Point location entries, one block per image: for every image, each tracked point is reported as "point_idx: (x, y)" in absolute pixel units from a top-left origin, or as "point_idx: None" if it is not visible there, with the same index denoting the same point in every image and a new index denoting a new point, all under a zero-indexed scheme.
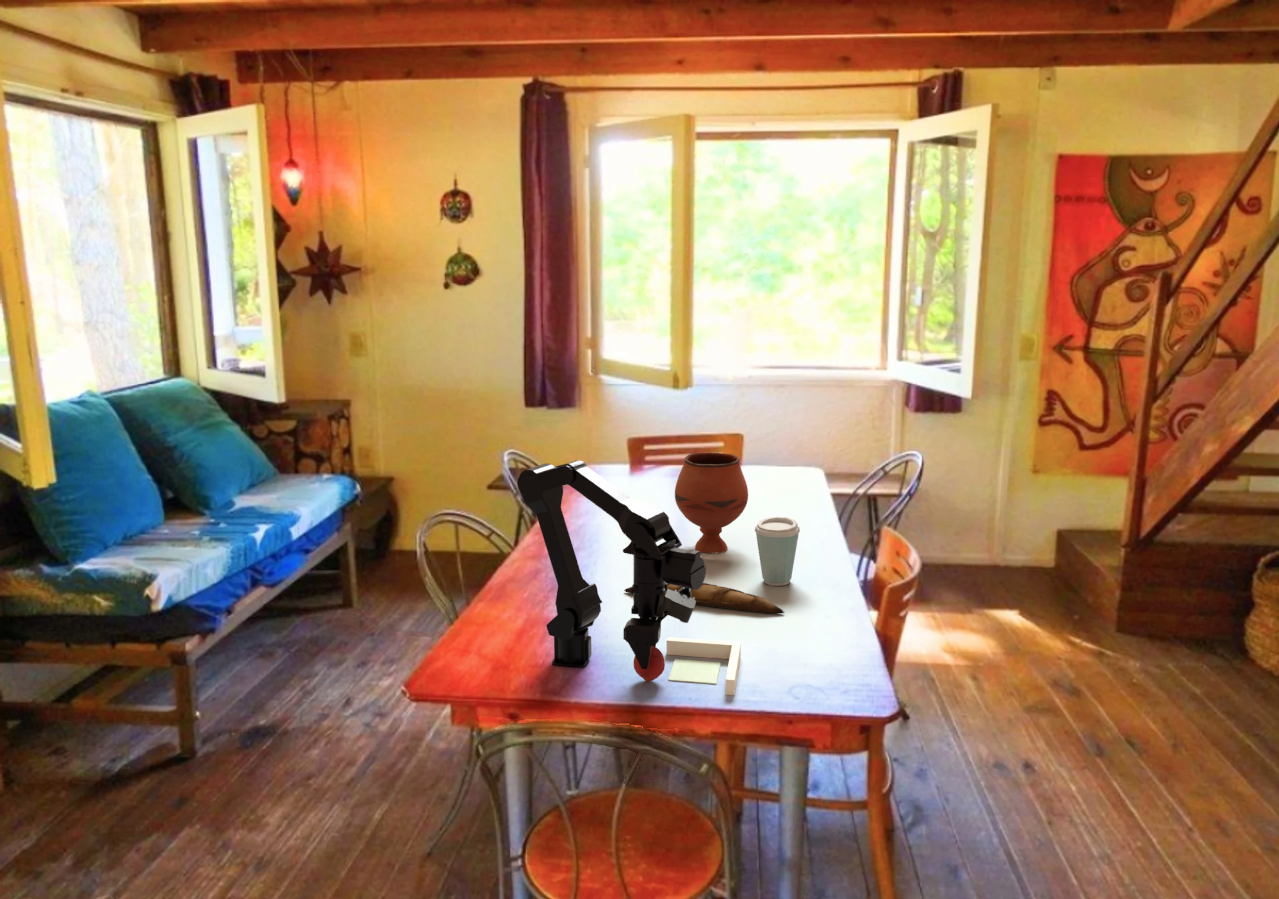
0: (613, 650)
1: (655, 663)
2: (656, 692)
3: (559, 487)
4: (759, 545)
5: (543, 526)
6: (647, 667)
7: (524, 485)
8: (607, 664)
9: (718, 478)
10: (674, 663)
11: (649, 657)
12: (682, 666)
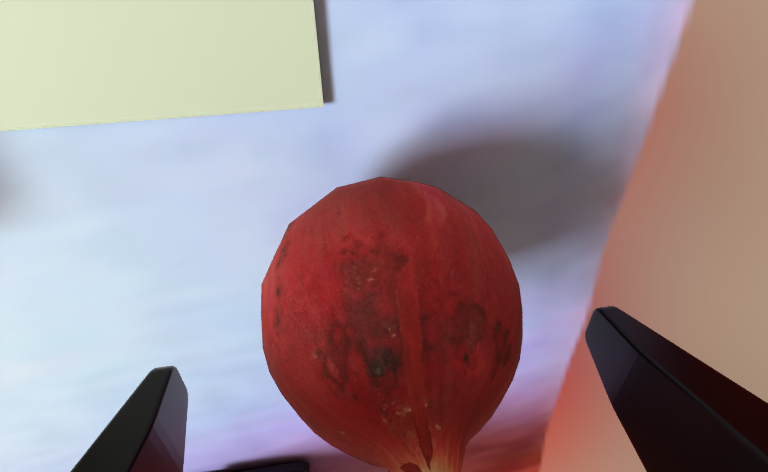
0: (61, 443)
1: (511, 281)
2: (510, 140)
3: None
4: None
5: None
6: (627, 314)
7: None
8: (232, 415)
9: None
10: (1, 122)
11: (728, 389)
12: (13, 37)
